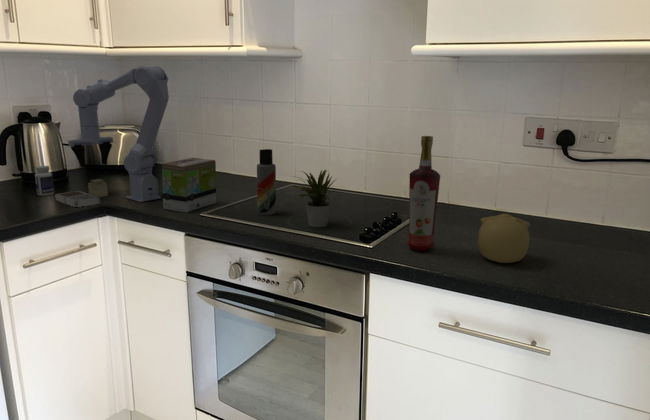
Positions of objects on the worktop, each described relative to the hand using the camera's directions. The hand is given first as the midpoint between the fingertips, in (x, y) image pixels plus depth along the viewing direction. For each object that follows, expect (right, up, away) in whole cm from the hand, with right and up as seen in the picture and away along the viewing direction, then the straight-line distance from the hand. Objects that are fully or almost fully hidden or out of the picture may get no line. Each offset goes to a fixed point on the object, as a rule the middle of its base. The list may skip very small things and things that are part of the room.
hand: (93, 165), depth 181 cm
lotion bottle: (+62, -16, -18) cm, 66 cm away
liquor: (+103, -25, -49) cm, 117 cm away
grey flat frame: (-2, -13, -7) cm, 15 cm away
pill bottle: (-18, -10, +3) cm, 21 cm away
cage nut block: (+1, -10, +2) cm, 11 cm away
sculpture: (+122, -27, -56) cm, 136 cm away
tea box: (+36, -14, -11) cm, 40 cm away
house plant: (+77, -19, -29) cm, 84 cm away
